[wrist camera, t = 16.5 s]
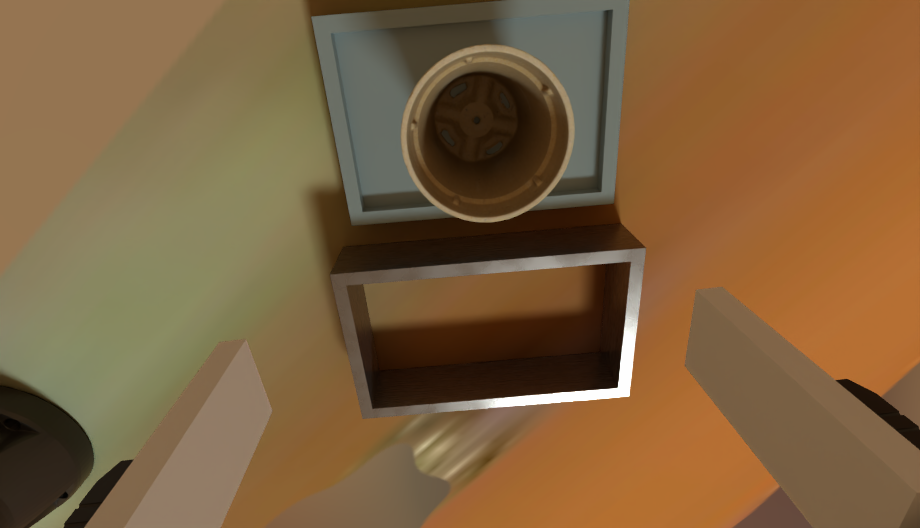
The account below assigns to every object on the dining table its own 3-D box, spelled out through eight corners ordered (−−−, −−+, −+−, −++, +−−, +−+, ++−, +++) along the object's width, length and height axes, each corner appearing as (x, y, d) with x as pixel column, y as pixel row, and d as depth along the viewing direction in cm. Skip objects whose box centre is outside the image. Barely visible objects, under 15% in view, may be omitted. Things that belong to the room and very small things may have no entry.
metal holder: (370, 380, 43) (362, 418, 39) (343, 247, 37) (329, 274, 33) (609, 359, 43) (628, 396, 39) (621, 223, 37) (646, 248, 33)
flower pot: (457, 13, 29) (463, 1, 21) (569, 97, 32) (610, 113, 24) (386, 137, 32) (369, 166, 25) (492, 205, 35) (507, 250, 27)
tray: (356, 216, 36) (351, 225, 34) (318, 18, 30) (311, 16, 28) (605, 195, 36) (613, 203, 34) (619, -7, 30) (630, -11, 28)
